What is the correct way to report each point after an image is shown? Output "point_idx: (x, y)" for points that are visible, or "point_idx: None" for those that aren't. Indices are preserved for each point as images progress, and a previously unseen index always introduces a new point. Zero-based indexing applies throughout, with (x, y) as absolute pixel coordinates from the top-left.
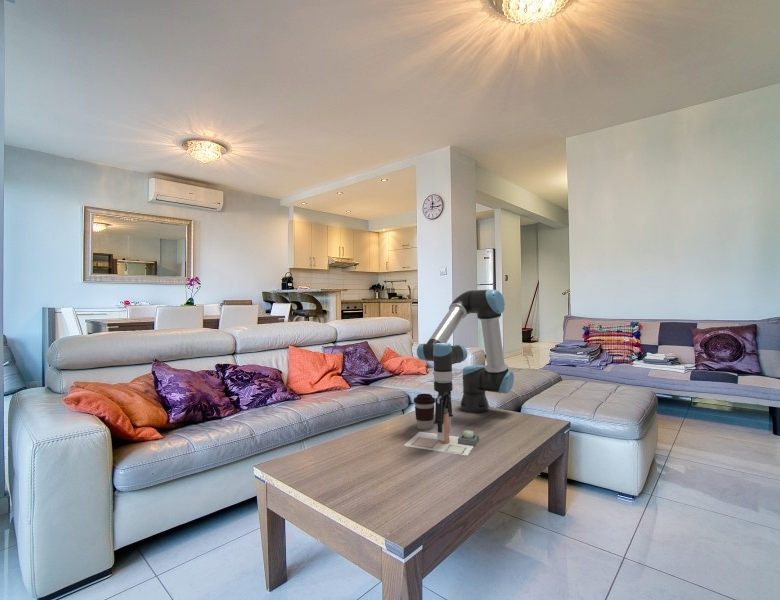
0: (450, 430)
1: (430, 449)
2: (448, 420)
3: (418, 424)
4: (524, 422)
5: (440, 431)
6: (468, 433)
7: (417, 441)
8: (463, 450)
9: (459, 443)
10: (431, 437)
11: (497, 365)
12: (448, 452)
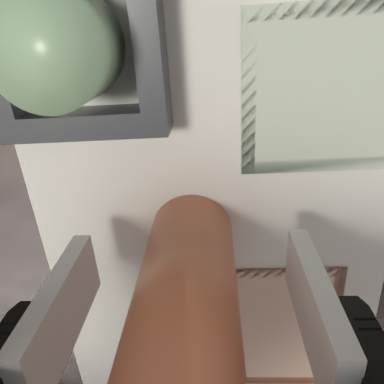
0: (82, 249)
1: (379, 268)
2: (180, 350)
3: None
4: None
5: (366, 312)
6: (93, 30)
7: (264, 371)
8: (336, 13)
9: (171, 110)
10: None
11: None
12: None
